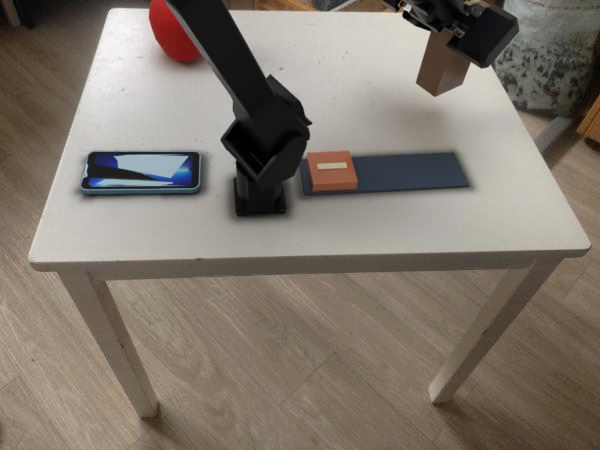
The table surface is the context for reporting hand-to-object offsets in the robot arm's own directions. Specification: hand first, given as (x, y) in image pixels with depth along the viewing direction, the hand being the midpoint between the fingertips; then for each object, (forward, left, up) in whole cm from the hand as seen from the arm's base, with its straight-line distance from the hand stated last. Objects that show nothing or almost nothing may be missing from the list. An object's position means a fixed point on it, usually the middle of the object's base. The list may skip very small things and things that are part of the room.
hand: (459, 40), depth 67 cm
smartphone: (-11, +44, -13) cm, 47 cm away
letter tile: (-13, +19, -12) cm, 26 cm away
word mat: (-13, +12, -12) cm, 21 cm away
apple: (+17, +39, -13) cm, 45 cm away
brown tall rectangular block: (-1, +1, -7) cm, 7 cm away
